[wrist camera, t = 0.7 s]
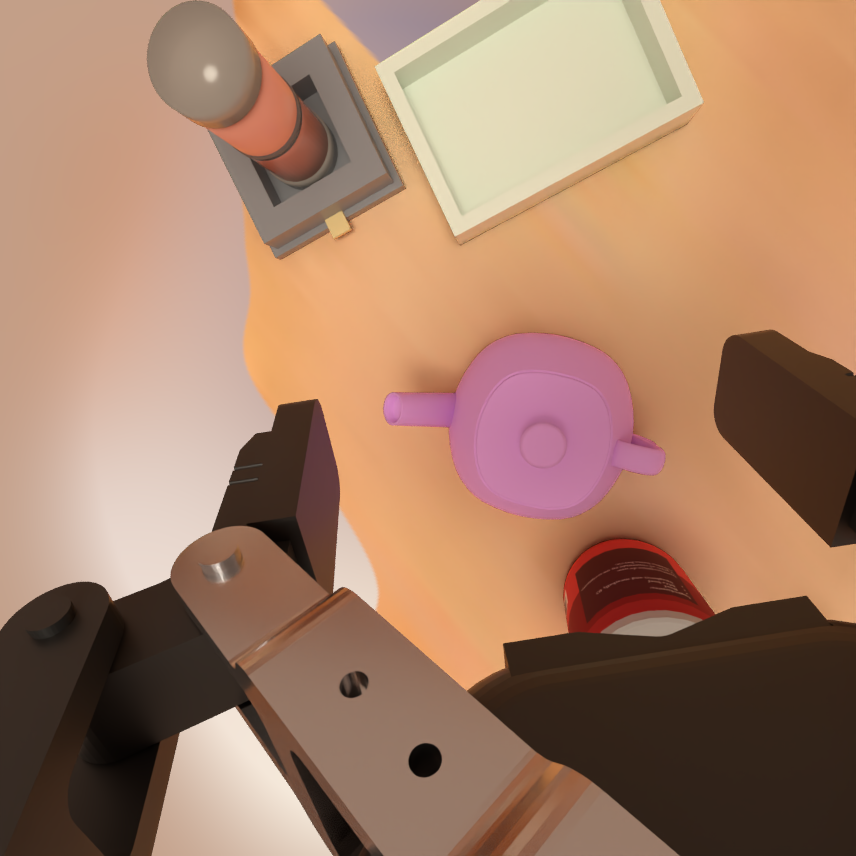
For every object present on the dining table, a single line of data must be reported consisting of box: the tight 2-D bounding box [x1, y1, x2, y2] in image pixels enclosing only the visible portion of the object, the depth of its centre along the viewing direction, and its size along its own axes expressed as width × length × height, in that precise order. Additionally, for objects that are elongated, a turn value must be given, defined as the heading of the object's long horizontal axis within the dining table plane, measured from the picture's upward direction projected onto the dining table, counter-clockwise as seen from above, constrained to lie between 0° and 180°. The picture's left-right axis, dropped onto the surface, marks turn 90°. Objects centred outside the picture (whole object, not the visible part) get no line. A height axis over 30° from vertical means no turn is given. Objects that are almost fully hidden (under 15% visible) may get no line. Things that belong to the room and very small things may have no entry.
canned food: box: [563, 539, 715, 636], centre depth 31 cm, size 8×8×11 cm
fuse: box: [147, 0, 338, 190], centre depth 29 cm, size 4×4×12 cm
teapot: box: [383, 333, 665, 519], centre depth 31 cm, size 10×15×9 cm
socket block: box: [207, 34, 405, 259], centre depth 34 cm, size 9×11×3 cm
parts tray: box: [375, 0, 704, 245], centre depth 32 cm, size 14×10×3 cm
